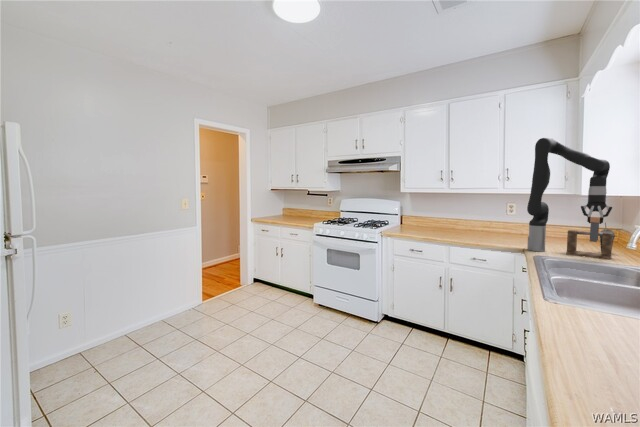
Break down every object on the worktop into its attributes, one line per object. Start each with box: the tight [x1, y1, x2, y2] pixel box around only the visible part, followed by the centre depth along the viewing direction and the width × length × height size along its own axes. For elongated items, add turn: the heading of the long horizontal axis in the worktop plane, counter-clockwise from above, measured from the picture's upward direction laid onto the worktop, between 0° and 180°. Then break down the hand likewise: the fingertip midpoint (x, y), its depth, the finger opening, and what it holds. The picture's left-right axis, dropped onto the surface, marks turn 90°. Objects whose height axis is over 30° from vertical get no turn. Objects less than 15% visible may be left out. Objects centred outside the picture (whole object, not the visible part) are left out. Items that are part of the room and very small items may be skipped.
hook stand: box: [565, 229, 613, 260], centre depth 180 cm, size 20×10×15 cm, turn 42°
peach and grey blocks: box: [589, 216, 600, 243], centre depth 169 cm, size 4×9×14 cm, turn 132°
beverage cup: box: [599, 221, 616, 253], centre depth 186 cm, size 7×7×20 cm
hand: (595, 223), depth 169 cm, fingers closed on peach and grey blocks, 4 cm apart
